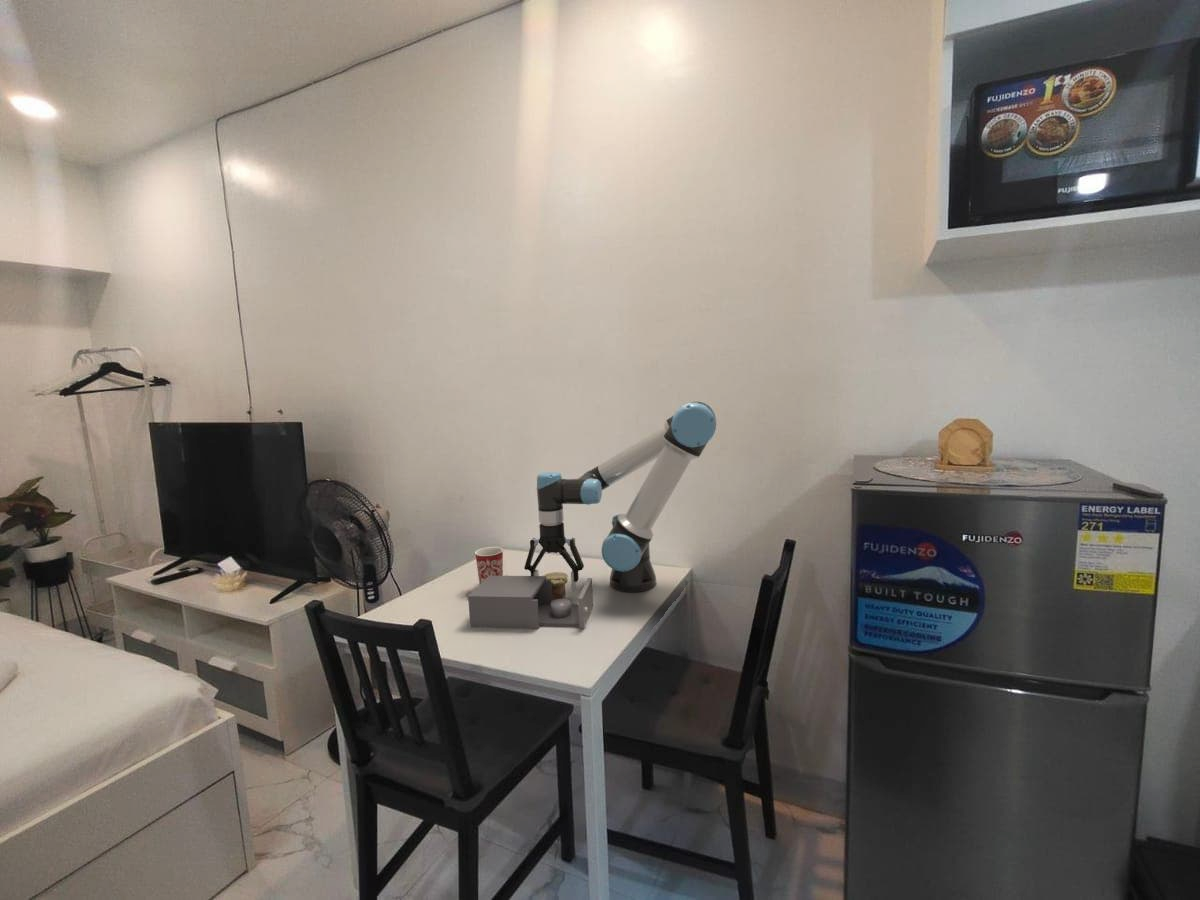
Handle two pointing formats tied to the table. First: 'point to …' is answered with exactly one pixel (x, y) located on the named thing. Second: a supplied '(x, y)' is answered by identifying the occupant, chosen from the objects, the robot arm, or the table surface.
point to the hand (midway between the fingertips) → (555, 591)
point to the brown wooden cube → (558, 592)
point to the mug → (489, 562)
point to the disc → (557, 578)
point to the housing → (509, 602)
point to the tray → (558, 621)
